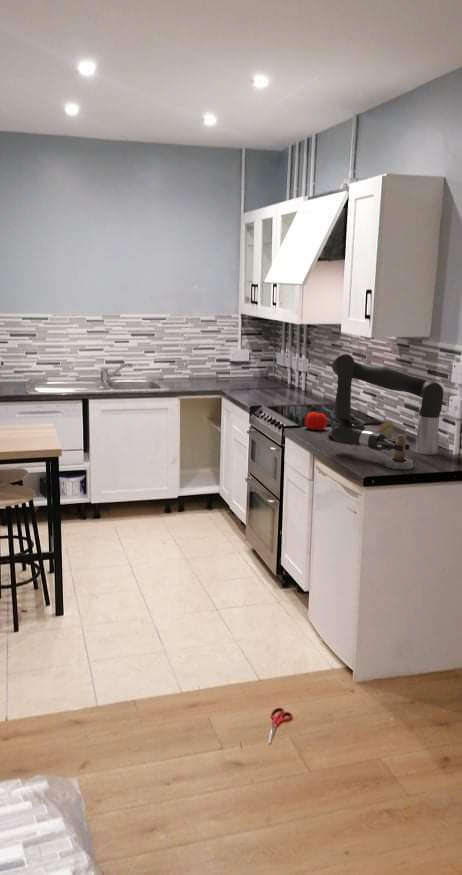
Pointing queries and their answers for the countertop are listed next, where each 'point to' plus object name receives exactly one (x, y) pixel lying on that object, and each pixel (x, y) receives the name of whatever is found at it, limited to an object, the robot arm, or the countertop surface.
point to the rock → (386, 429)
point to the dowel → (402, 442)
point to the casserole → (355, 425)
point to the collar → (398, 463)
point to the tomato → (315, 421)
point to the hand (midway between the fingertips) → (405, 448)
